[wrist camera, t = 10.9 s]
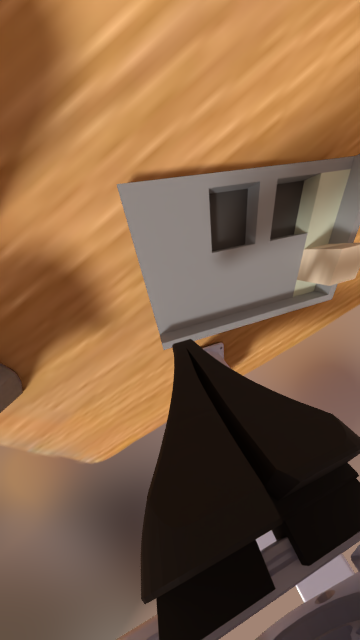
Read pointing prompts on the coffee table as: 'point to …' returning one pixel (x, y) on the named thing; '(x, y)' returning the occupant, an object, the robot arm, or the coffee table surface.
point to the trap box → (237, 241)
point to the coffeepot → (8, 386)
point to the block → (330, 263)
